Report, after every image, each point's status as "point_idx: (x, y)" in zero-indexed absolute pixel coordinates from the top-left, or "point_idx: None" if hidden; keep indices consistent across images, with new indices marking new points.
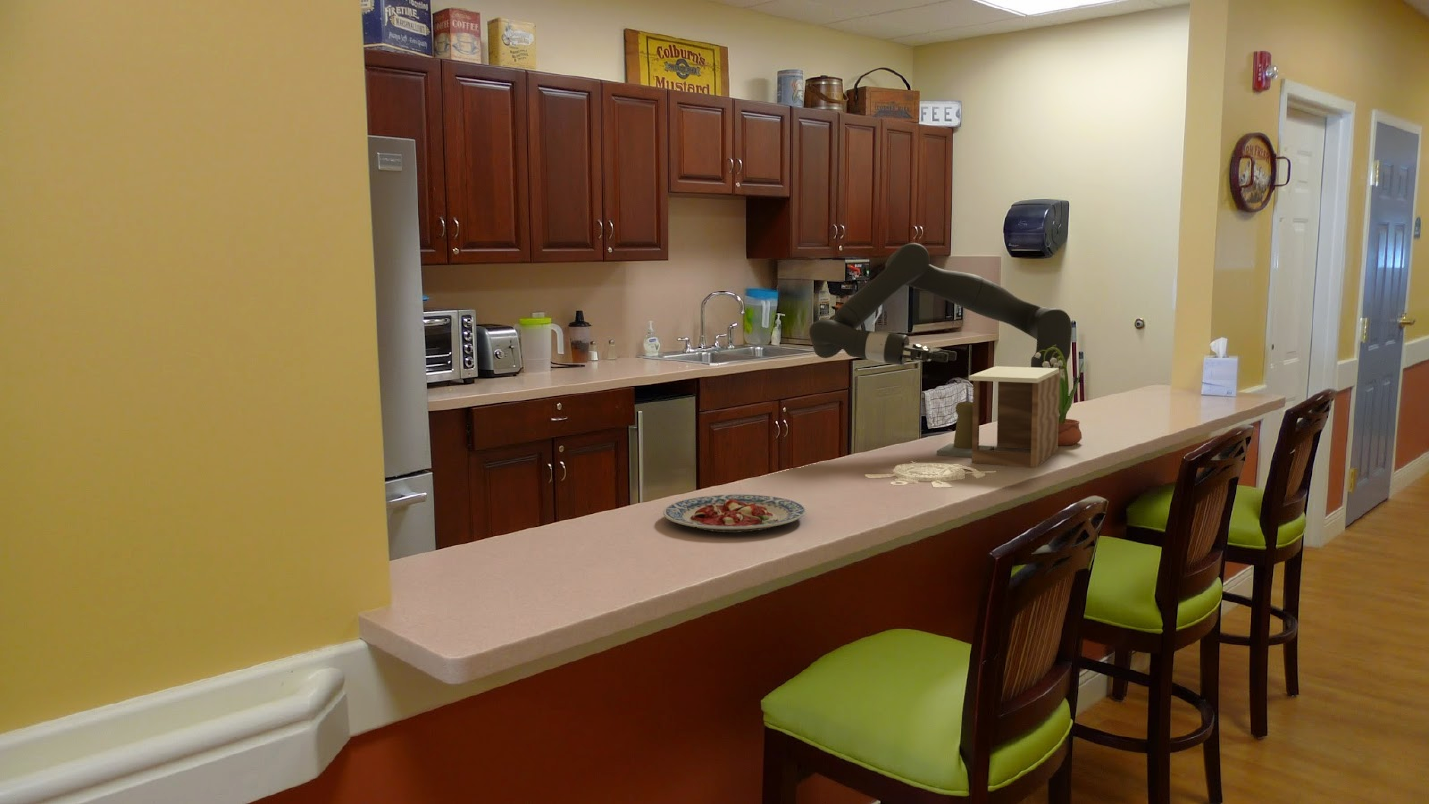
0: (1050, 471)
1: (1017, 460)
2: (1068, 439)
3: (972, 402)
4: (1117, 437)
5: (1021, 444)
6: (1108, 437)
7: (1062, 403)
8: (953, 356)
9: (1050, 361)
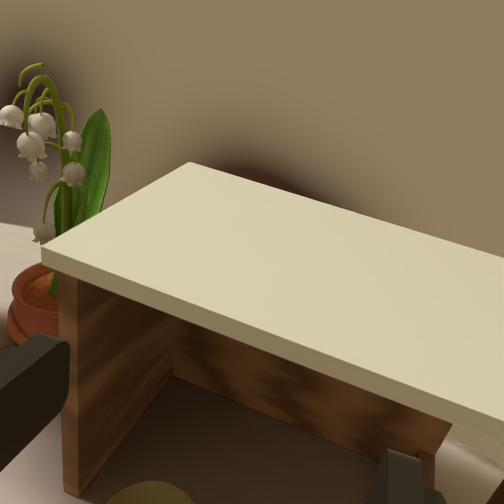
0: (454, 447)
1: None
2: None
3: (161, 493)
4: (27, 238)
5: (127, 424)
6: (20, 247)
7: None
8: (56, 383)
9: (43, 129)
